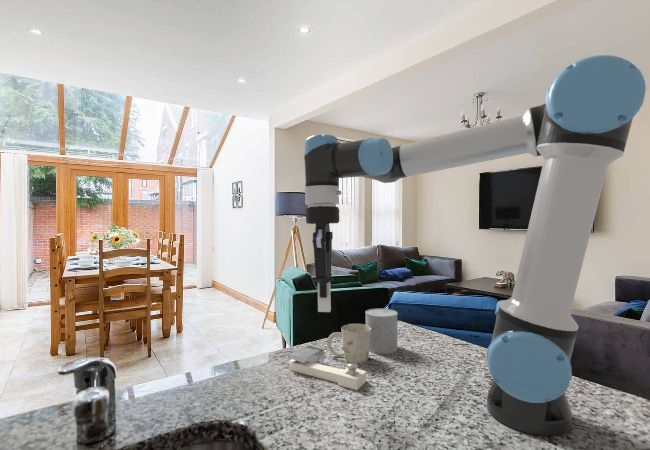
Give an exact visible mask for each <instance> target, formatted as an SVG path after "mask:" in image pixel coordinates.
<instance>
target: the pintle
mask: <svg viewBox="0 0 650 450" xmlns="http://www.w3.org/2000/svg"><path fill="white" fill-rule="evenodd" d="M358 365H359V363H355V362H347V363H346V368H348V375H352V376H355V375H356V369H359V368H358Z"/></svg>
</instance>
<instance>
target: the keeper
mask: <svg viewBox="0 0 650 450" xmlns="http://www.w3.org/2000/svg"><path fill="white" fill-rule="evenodd" d="M288 359H290V360H291V359H293V360H296V361H300V362H303V363H304V362H306V361H309V362H314V363H318V364H322V365H325V348H322V347H320V346H319V347H318V346H314V345H311V344H309V345H306V346H304V347H302V348H300V349H298V350H296V351H293V352H291V353H289V354H288Z"/></svg>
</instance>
